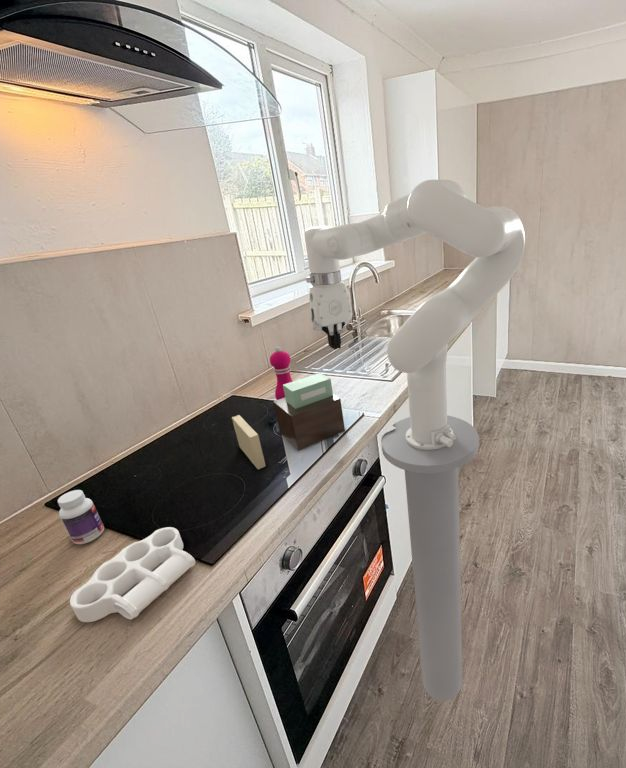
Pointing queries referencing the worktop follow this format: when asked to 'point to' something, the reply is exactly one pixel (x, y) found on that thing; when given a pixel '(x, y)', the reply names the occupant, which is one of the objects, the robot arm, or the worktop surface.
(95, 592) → the knuckle duster
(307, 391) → the tissue box
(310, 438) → the block
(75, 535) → the pill bottle
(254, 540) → the worktop surface
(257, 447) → the rail
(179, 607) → the worktop surface
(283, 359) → the pepper mill
